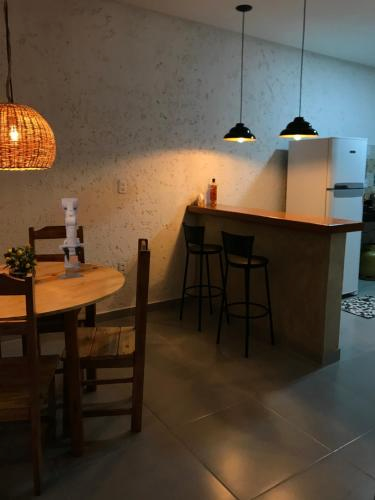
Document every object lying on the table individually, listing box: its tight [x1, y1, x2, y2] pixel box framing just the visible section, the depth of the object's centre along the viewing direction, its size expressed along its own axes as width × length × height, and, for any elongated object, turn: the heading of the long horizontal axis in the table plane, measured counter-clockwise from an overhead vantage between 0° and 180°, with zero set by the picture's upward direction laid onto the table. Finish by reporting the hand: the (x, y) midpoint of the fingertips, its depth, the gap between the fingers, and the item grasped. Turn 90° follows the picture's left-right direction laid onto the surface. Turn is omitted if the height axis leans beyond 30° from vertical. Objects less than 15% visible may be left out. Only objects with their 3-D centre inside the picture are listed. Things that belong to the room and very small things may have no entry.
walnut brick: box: [64, 267, 77, 277], centre depth 233 cm, size 5×5×4 cm
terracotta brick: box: [67, 255, 79, 264], centre depth 240 cm, size 5×5×4 cm
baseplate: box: [58, 272, 84, 280], centre depth 234 cm, size 7×12×1 cm, turn 125°
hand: (72, 259), depth 240 cm, fingers closed on terracotta brick, 5 cm apart
